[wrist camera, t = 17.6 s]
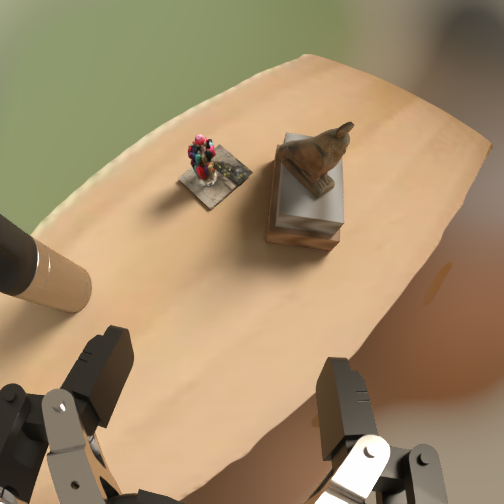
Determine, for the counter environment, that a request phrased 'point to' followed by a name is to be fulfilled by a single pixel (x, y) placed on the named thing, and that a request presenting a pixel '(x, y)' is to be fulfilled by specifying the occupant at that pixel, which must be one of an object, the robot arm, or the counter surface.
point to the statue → (212, 172)
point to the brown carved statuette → (315, 158)
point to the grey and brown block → (304, 208)
